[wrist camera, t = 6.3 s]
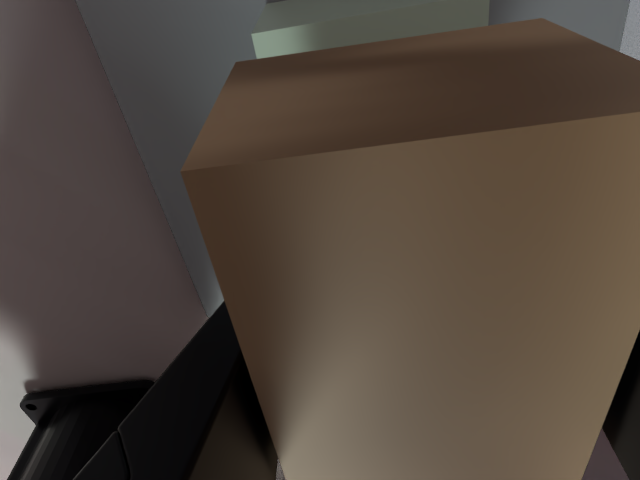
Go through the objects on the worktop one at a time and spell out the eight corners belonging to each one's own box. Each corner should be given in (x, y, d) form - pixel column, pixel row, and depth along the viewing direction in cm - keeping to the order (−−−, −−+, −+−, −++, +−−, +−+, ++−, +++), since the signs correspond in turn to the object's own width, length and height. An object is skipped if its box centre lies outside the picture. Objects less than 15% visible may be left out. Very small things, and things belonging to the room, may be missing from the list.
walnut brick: (305, 365, 11) (303, 531, 8) (235, 62, 7) (180, 171, 4) (497, 346, 11) (568, 510, 8) (542, 18, 7) (728, 101, 4)
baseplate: (210, 306, 19) (187, 394, 15) (32, -132, 11) (-102, -154, 7) (565, 261, 18) (626, 345, 14) (669, -265, 9) (871, -367, 6)
